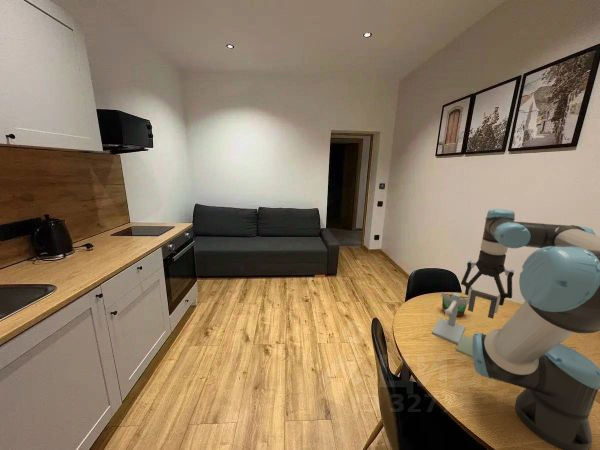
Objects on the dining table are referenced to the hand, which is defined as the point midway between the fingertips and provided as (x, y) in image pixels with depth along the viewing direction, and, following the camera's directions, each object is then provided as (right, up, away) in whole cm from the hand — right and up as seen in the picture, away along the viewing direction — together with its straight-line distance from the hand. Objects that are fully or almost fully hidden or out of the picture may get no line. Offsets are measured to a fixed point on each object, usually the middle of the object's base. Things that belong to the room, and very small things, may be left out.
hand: (481, 307), depth 93 cm
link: (0, -3, +1) cm, 3 cm away
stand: (-4, -16, +14) cm, 22 cm away
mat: (0, -18, +4) cm, 19 cm away
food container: (+6, -13, +26) cm, 30 cm away
